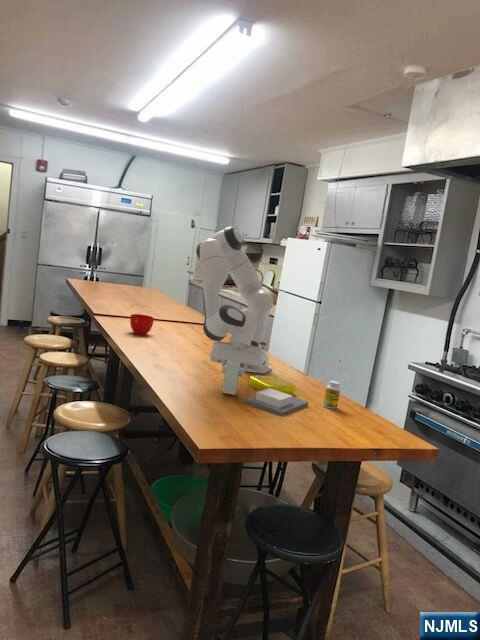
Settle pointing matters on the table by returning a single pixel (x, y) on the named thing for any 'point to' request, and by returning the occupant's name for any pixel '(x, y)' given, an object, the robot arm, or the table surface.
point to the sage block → (231, 377)
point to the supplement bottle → (332, 395)
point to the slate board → (277, 410)
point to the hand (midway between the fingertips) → (232, 374)
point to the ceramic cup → (141, 323)
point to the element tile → (271, 384)
